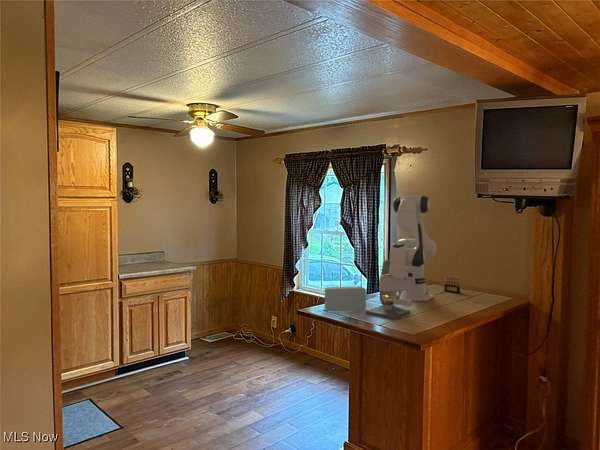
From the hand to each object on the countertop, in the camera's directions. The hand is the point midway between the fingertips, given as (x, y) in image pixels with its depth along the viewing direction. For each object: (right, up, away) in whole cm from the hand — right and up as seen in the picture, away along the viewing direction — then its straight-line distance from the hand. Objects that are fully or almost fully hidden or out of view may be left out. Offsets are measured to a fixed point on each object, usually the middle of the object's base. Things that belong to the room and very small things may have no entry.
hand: (397, 298), depth 242 cm
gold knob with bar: (+1, -4, +6) cm, 7 cm away
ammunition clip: (+54, -7, +70) cm, 89 cm away
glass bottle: (+1, -9, +29) cm, 30 cm away
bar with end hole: (-26, -10, +18) cm, 33 cm away
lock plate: (-3, -10, +9) cm, 14 cm away
